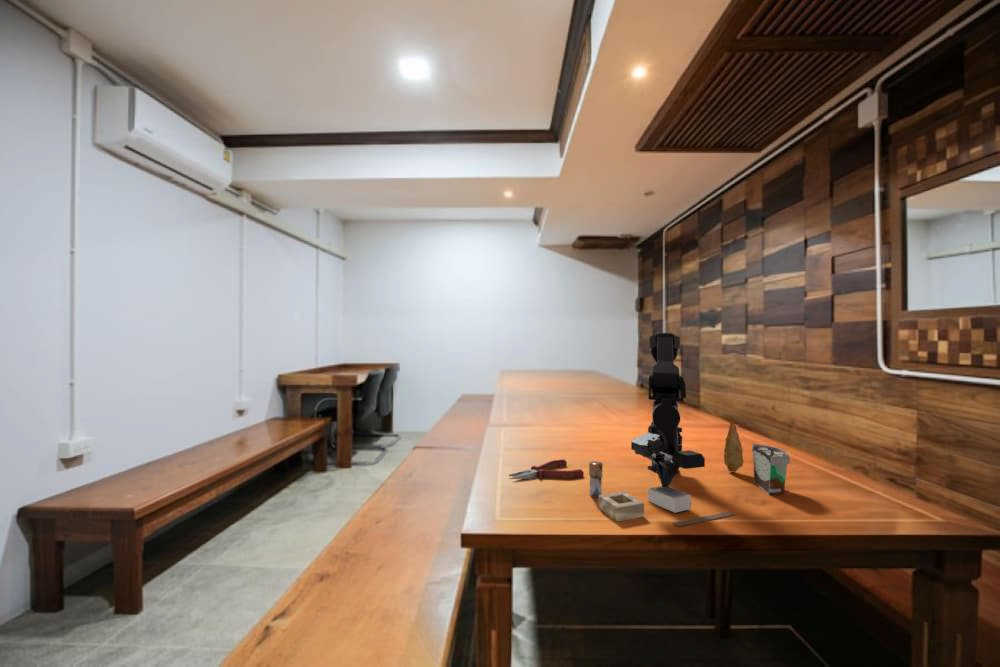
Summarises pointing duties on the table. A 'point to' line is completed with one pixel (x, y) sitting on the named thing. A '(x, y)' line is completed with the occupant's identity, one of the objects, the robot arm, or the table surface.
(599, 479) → the flashlight
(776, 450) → the food container
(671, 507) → the stud finder
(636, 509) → the socket block
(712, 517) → the bar
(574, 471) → the pliers
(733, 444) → the stone tool
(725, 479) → the table surface
